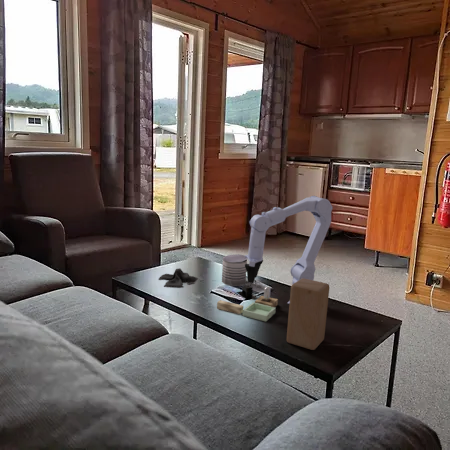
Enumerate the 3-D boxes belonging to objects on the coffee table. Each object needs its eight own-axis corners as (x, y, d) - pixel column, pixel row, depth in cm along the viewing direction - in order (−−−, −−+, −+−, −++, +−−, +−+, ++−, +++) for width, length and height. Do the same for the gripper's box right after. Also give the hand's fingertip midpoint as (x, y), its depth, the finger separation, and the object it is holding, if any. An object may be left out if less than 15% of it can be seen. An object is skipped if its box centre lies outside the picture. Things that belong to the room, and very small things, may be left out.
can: (248, 286, 189) (249, 260, 187) (223, 286, 187) (224, 260, 185) (243, 278, 200) (245, 253, 198) (220, 277, 198) (221, 253, 196)
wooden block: (314, 352, 131) (320, 291, 128) (284, 342, 137) (290, 284, 133) (324, 340, 140) (330, 283, 136) (296, 332, 145) (301, 276, 141)
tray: (275, 313, 160) (275, 307, 160) (266, 321, 152) (266, 315, 152) (252, 307, 164) (253, 302, 164) (242, 315, 156) (243, 310, 156)
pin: (270, 305, 168) (271, 287, 166) (267, 307, 165) (269, 289, 164) (264, 304, 169) (265, 286, 167) (262, 306, 166) (263, 288, 165)
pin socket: (277, 304, 169) (277, 299, 168) (271, 310, 162) (271, 304, 162) (261, 301, 172) (261, 295, 171) (254, 306, 165) (254, 300, 165)
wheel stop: (243, 312, 159) (243, 305, 159) (240, 314, 157) (240, 307, 157) (219, 306, 164) (220, 300, 163) (216, 308, 162) (217, 302, 161)
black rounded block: (261, 301, 174) (262, 290, 173) (245, 303, 171) (246, 292, 170) (247, 290, 185) (248, 280, 184) (232, 292, 182) (233, 282, 181)
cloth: (169, 291, 179) (169, 277, 178) (150, 278, 194) (150, 266, 192) (212, 283, 191) (213, 270, 190) (192, 272, 206) (192, 260, 205)
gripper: (249, 240, 169) (245, 273, 171) (243, 248, 155) (238, 283, 157) (266, 243, 168) (262, 276, 170) (261, 251, 154) (257, 286, 156)
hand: (252, 279), depth 164 cm, fingers open, 7 cm apart
